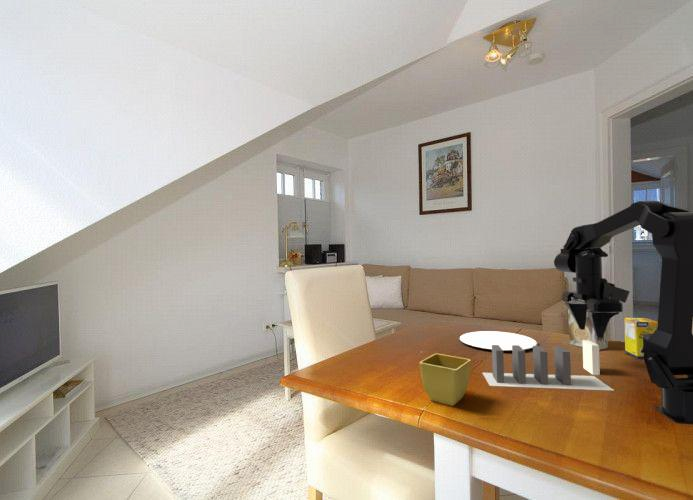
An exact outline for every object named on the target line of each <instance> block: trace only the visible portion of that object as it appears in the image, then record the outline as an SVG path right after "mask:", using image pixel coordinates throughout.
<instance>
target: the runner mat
mask: <svg viewBox="0 0 693 500" xmlns="http://www.w3.org/2000/svg"><path fill="white" fill-rule="evenodd" d="M482 375H483V377H484V379H485V380H486V382H487V383H488V386H490V387H508V388H509V387H510V388H511V387H513V388H537V389H560V390H562V389H563V390H564V389H565V390H587V391H588V390H590V391H615V389H614V388H612V387H610V386H609V385H608V384H606V383H605V382H603V381H602V380H600V379H599V378H597V377H596V375H572V374H571V386H570V385H563V384H562V383H561V382H560V381H558V380H557V379H556V378H555V374H548V385H543V384H540V383H539V382H538V381H537V380H536V379H535V377H534V373H526V384H519V383H518V382H517V381H516V379H515V378H514V377H513V372H512V373H511V372H510V373H507V372H504V383H497V382H496V380H495V378H494V377H493V372H482Z"/></svg>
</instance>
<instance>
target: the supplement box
mask: <svg viewBox="0 0 693 500" xmlns="http://www.w3.org/2000/svg"><path fill="white" fill-rule="evenodd" d="M623 320H624V321H623V322H624V350H625V351H624V352H625V354H628V355H629V356H631V357H633V358H635V359H636V360H637V359H639V360H644V353H641V351H642V349H643V336H644V334H653V333H654V332H655V330H656V329H657V327H658V321H656V320H653V319H650V318H647V317H624V319H623Z"/></svg>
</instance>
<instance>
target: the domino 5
mask: <svg viewBox="0 0 693 500" xmlns="http://www.w3.org/2000/svg"><path fill="white" fill-rule="evenodd" d="M582 365H583V366H582V367H583V369H584V370H585V371H587V372H589V374H590V375H591V376H600V368H601V367H600V350H599V345H597V344H595V343H593V342H591V341H590V340H583V347H582Z"/></svg>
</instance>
